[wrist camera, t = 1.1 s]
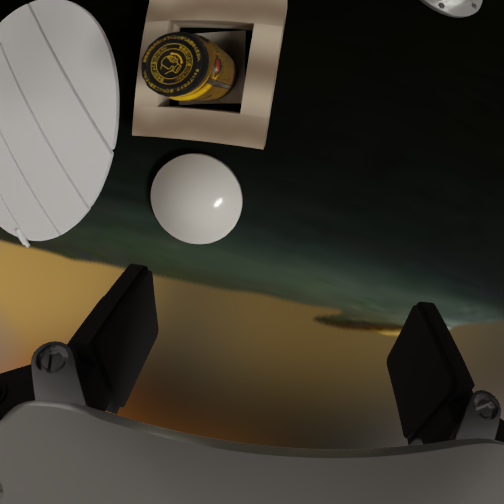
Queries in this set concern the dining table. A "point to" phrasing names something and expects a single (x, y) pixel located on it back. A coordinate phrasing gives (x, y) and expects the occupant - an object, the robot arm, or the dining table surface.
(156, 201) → the coaster
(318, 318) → the dining table surface
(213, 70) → the condiment
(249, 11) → the holder
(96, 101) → the lazy susan
